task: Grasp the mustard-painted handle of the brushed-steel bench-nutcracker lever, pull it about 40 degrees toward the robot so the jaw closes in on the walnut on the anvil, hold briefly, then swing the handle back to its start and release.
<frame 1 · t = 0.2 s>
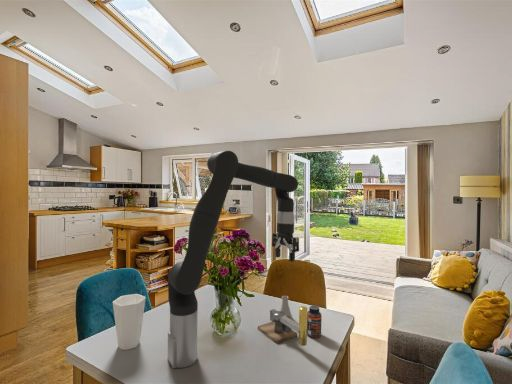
hand: (284, 259, 119), 29 cm above the table, fingers open, 8 cm apart
supplement bottle: (313, 335, 112), on the table
lever: (287, 316, 107), point 9 cm above the table, hinge at 0.0°
cup: (129, 345, 103), on the table
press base: (278, 334, 112), on the table
flask: (284, 319, 125), on the table
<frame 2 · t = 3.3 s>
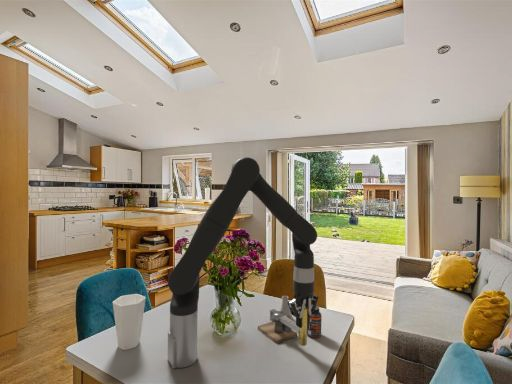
hand: (303, 325, 100), 10 cm above the table, fingers closed on lever, 3 cm apart
lever: (287, 316, 107), point 9 cm above the table, hinge at 0.0°, touching gripper
everything else where it was.
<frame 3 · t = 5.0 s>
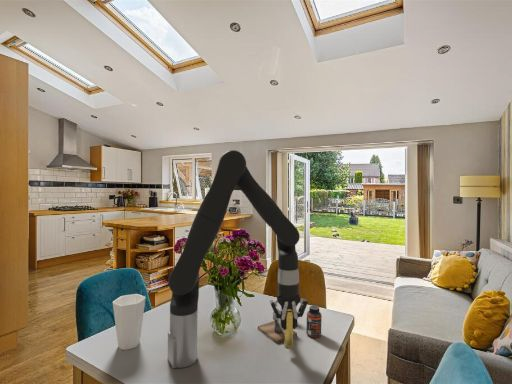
hand: (289, 328, 98), 10 cm above the table, fingers closed on lever, 3 cm apart
lever: (282, 317, 106), point 9 cm above the table, hinge at 24.0°, touching gripper
everything else where it was.
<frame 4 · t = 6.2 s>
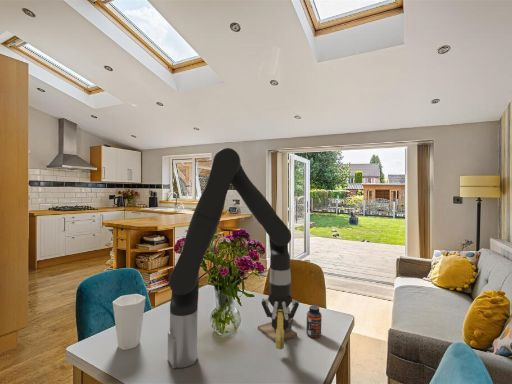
hand: (280, 328, 98), 10 cm above the table, fingers closed on lever, 3 cm apart
lever: (279, 317, 106), point 9 cm above the table, hinge at 37.1°, touching gripper
everything else where it was.
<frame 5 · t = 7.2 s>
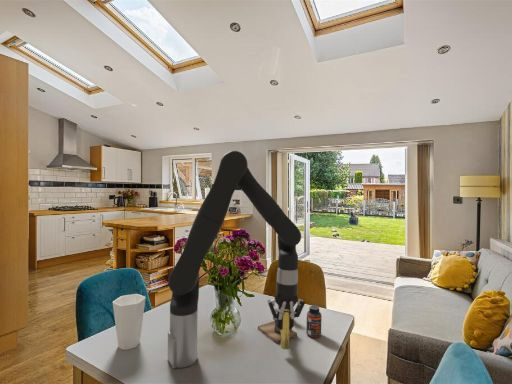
hand: (285, 328, 98), 10 cm above the table, fingers closed on lever, 3 cm apart
lever: (281, 317, 106), point 10 cm above the table, hinge at 29.6°, touching gripper
everything else where it was.
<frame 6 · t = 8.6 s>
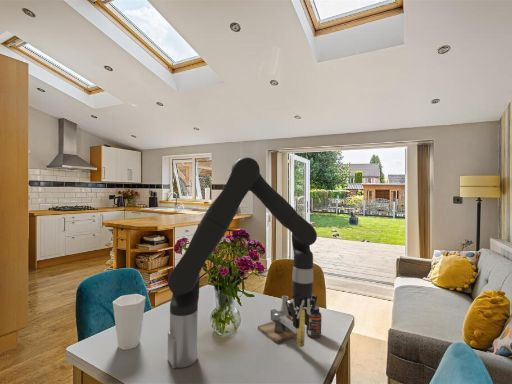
hand: (301, 325, 100), 10 cm above the table, fingers open, 4 cm apart
lever: (286, 316, 107), point 9 cm above the table, hinge at 4.9°, touching gripper
everything else where it was.
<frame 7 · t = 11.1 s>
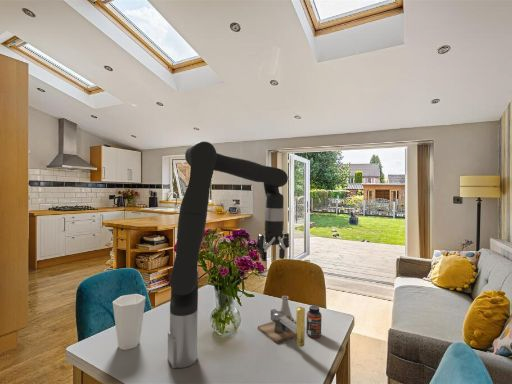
hand: (273, 259, 110), 31 cm above the table, fingers open, 8 cm apart
lever: (286, 316, 107), point 9 cm above the table, hinge at 4.9°
everything else where it was.
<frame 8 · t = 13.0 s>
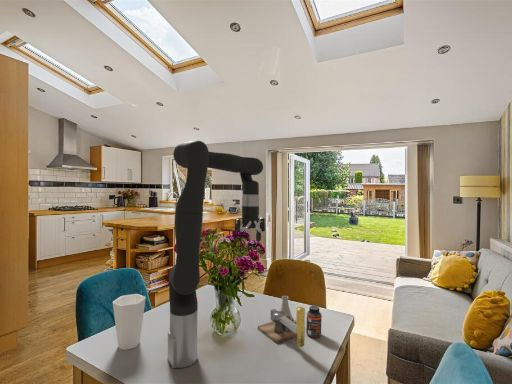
hand: (250, 242, 119), 36 cm above the table, fingers open, 8 cm apart
nothing on the table moved.
at the end: lever at +5° (first picture: +0°); the gripper is holding nothing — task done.
